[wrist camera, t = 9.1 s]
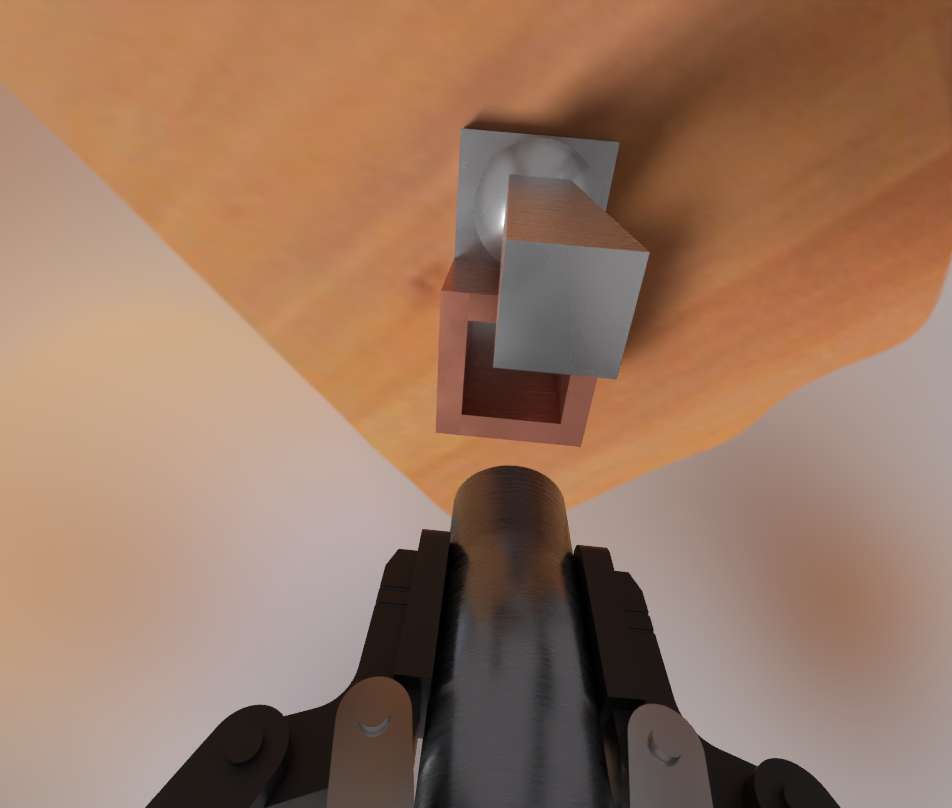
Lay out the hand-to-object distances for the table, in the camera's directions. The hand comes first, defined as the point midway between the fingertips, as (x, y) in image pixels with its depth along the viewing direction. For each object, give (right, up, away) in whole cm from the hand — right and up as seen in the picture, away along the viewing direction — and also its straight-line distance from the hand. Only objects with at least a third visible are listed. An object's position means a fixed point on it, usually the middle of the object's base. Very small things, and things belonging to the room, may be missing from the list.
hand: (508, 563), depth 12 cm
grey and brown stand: (+2, +10, +14) cm, 17 cm away
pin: (0, +1, +2) cm, 2 cm away
